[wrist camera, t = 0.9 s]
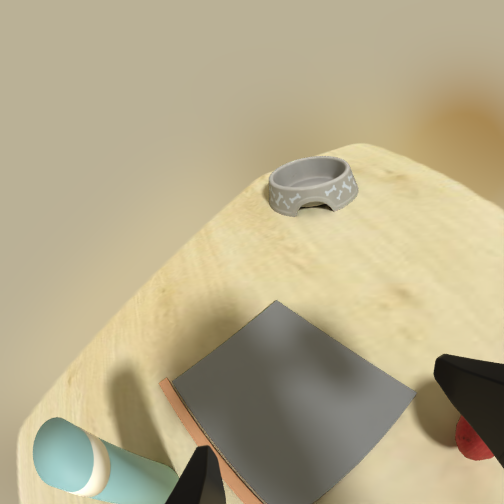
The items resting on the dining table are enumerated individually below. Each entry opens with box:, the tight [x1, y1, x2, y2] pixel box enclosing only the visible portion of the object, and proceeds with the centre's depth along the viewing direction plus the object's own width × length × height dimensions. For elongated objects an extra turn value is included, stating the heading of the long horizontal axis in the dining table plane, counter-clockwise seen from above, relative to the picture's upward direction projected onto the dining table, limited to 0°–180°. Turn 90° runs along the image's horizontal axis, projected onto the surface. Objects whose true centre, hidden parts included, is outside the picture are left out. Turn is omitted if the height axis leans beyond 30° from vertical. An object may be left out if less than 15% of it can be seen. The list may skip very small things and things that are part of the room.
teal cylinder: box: [33, 417, 179, 504], centre depth 14 cm, size 6×6×13 cm
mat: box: [172, 300, 417, 504], centre depth 23 cm, size 16×20×1 cm
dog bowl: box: [269, 156, 358, 217], centre depth 51 cm, size 17×18×5 cm
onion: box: [455, 415, 494, 461], centre depth 10 cm, size 6×6×8 cm
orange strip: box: [159, 378, 263, 504], centre depth 20 cm, size 22×1×1 cm, turn 38°
